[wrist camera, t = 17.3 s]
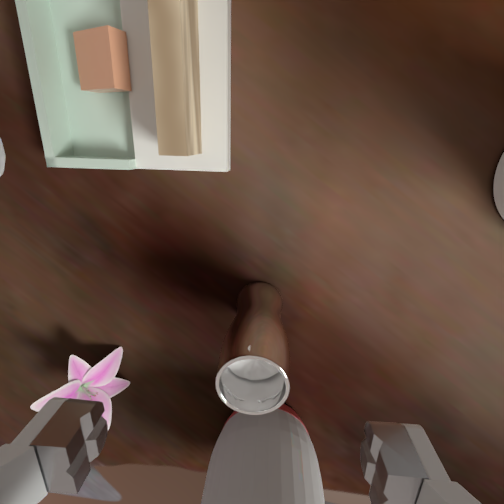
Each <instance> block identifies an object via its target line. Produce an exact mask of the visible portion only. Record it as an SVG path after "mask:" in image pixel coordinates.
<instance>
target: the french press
mask: <svg viewBox="0 0 504 504" xmlns="http://www.w3.org/2000/svg"><path fill="white" fill-rule="evenodd" d="M5 157H6V156H5V152H4V148H3V144H2V140H1V138H0V176H1V175H2V173H3V172H4V165H5Z"/></svg>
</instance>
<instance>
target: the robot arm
mask: <svg viewBox="0 0 504 504" xmlns="http://www.w3.org/2000/svg"><path fill="white" fill-rule="evenodd" d="M493 193H494V200H495V204H496V207H497V209H498V211H499V213H500V215H501V216H502V218H503V219H504V152H503V154H502V156H501V158H500V161H499V163H498V166H497V169H496V172H495V177H494V184H493ZM104 411H105V409H104V405H103V402H100V401H91V400H81V399H72V398H59V397H54V398H52V399H50V400H49V401H48V402H47V403H46V404H45V405H44V406H43V407H42V408H41V410H40V411H39V412H38V413H37V414H36V415H35V416H34V418H33V419H32V420H31V421H30V422H29V423H28V424H27V426H26V427H25V428H24V429H23V430H22V431H21V433H20V434H19V435H18V436H17V437H16V438H15V439H14V441H13V442H12V443H11V444H4V445H3V446H1V447H0V504H37V503H38V502H40V501H41V500H42V499H43V498H44V497H45V496H46V495H47V494H48V493H47V492H51V493H68V494H78V492H79V490H80V488H81V486H82V485H83V483H84V481H85V479H86V477H87V476H88V474H89V472H90V470H91V469H90V462H91V461H92V460H93V459H95V458H96V457H97V456H99V454H100V452H101V450H102V448H103V447H104V444H105V441H106V437H107V431H108V426H107V421H106V420H105V419H104V418H103V417H102V414H103V413H104ZM364 432H365V435H366V438H365V439H364V440H363V441H362V443H361V449H360V456H361V466H362V471H363V474H364V478H365V479H366V480H367V481H368V482H369V484H370V485H371V487H370V492H369V497H370V501H371V504H481V503H480V502H479V501H478V500H477V499H475V498H474V497H473V496H472V495H471V494H470V493H469V492H467V491H466V490H465V489H464V488H463V487H462V486H461V485H460V484H458V483H457V482H452V481H451V480H450V478H449V477H448V475H447V473H446V471H445V469H444V467H443V465H442V463H441V461H440V460H439V458H438V456H437V454H436V452H435V450H434V448H433V446H432V444H431V442H430V441H429V439H428V437H427V435H426V433H425V431H424V429H423V428H422V427H421V426H420V425H416V424H400V423H389V422H373V421H367V422H366V424H365V428H364Z"/></svg>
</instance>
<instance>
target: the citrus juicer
mask: <svg viewBox="0 0 504 504" xmlns="http://www.w3.org/2000/svg"><path fill="white" fill-rule="evenodd" d="M201 504H325V501H324V494H323V487H322V480H321V475H320V470H319V465H318V460H317V456H316V453H315V450H314V447H313V444H312V442H311V440H310V437H309V434H308V431H307V429H306V427H305V425H304V424H303V422H302V420H301V419H300V417H299V416H298V414H297V413H296V412H295V411H294V410H293V409H291V408H290V407H289V406H287V405H285V404H282V405H281V406H280V407H279V408H278V409H276V410H274V411H272V412H270V413H267V414H262V415H248V414H243V413H240V412H237V411H235V410H234V412H233V413H232V414H231V415H230V417H229V418H228V420H227V421H226V423H225V424H224V426H223V429H222V431H221V433H220V435H219V437H218V440H217V442H216V444H215V447H214V450H213V452H212V455H211V459H210V463H209V467H208V472H207V477H206V482H205V487H204V492H203V496H202V502H201Z"/></svg>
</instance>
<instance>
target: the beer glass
mask: <svg viewBox="0 0 504 504" xmlns="http://www.w3.org/2000/svg"><path fill="white" fill-rule="evenodd" d="M282 307H283V301H282V297H281V295H280V293H279V291H278V290H277V289H276V288H275V287H273V286H272V285H270V284H267V283H263V282H255V283H251V284H249V285H247V286H245V287H244V288H243V289H242V290H241V291H240V293H239V295H238V297H237V311H238V312H237V314H236V316H235V318H234V320H233V321H232V323H231V325H230V327H229V328H228V331H227V333H226V335H225V337H224V340H223V343H222V347H221V351H220V356H219V362H218V370H217V376H216V382H215V385H216V391H217V393H218V395H219V397H220V399H221V400H222V401H223V402H224V403H225V404H226V405H227V406H228V407H230V408H231V409H233V410H235V411H237V412H240V413H243V414H248V415H262V414H267V413H270V412H272V411H274V410H276V409H278V408H279V407H280V406H281V405H282V404H283V403H284V402H285V401H286V399H287V397H288V395H289V391H290V383H289V382H290V351H289V343H288V339H287V336H286V332H285V329H284V327H283V324H282V321H281V318H280V314H281V311H282Z"/></svg>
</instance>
